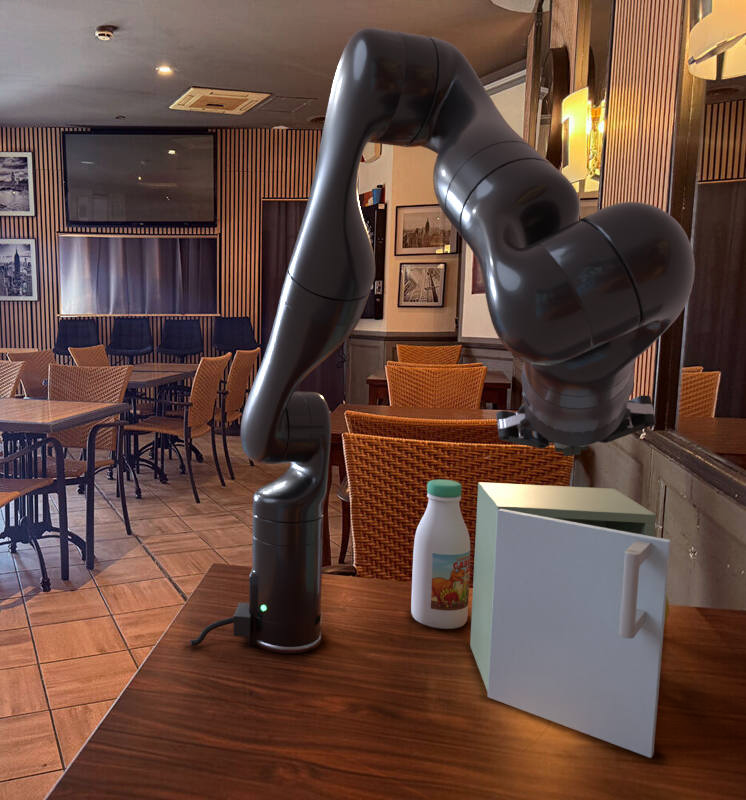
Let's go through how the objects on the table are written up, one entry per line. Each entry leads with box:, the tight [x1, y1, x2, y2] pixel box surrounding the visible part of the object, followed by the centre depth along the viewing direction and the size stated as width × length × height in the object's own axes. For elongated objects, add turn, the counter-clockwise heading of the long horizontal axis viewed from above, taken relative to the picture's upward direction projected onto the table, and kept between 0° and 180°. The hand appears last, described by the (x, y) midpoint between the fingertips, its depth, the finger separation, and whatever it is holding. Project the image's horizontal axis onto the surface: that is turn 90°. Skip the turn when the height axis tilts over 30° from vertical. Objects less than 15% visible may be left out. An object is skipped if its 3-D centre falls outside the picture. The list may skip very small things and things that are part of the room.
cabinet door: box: [487, 509, 672, 759], centre depth 70 cm, size 6×16×22 cm, turn 47°
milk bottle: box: [410, 479, 471, 630], centre depth 98 cm, size 8×8×20 cm
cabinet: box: [469, 481, 657, 693], centre depth 82 cm, size 12×16×22 cm
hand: (569, 445), depth 68 cm, fingers closed
